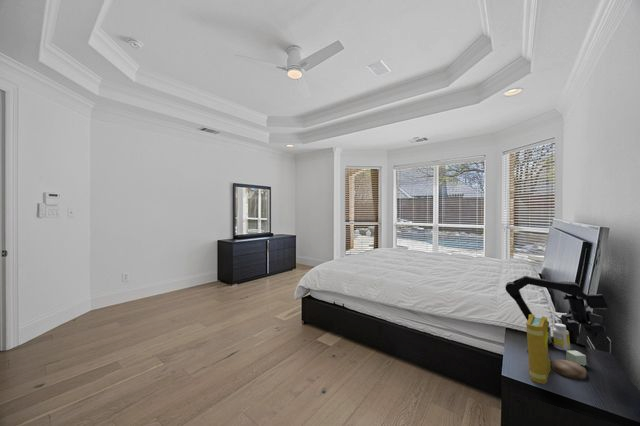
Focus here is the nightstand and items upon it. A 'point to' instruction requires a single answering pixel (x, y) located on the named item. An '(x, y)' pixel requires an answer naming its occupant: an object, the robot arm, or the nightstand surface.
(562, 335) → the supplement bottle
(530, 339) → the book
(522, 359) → the nightstand surface
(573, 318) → the robot arm
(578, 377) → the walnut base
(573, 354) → the sage block
